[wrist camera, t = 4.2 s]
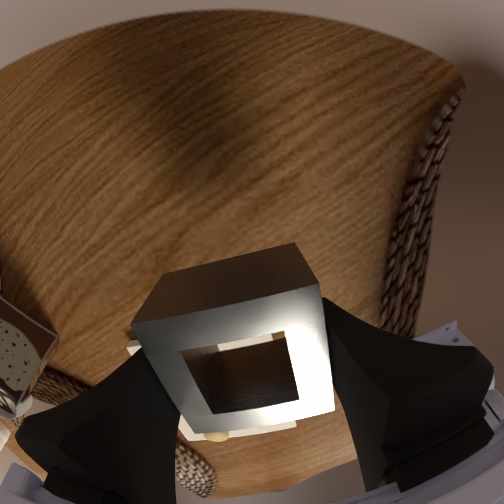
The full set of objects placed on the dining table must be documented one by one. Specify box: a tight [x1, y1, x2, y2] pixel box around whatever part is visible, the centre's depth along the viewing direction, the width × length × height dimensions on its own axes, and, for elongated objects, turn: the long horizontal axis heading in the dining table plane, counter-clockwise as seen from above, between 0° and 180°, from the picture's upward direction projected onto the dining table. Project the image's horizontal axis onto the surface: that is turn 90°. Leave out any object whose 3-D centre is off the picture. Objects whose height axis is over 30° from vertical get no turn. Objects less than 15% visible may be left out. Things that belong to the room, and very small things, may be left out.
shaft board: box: [127, 333, 297, 442], centre depth 21 cm, size 12×14×6 cm
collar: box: [130, 242, 334, 434], centre depth 10 cm, size 6×6×4 cm
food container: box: [0, 296, 59, 419], centre depth 17 cm, size 12×6×10 cm, turn 66°
